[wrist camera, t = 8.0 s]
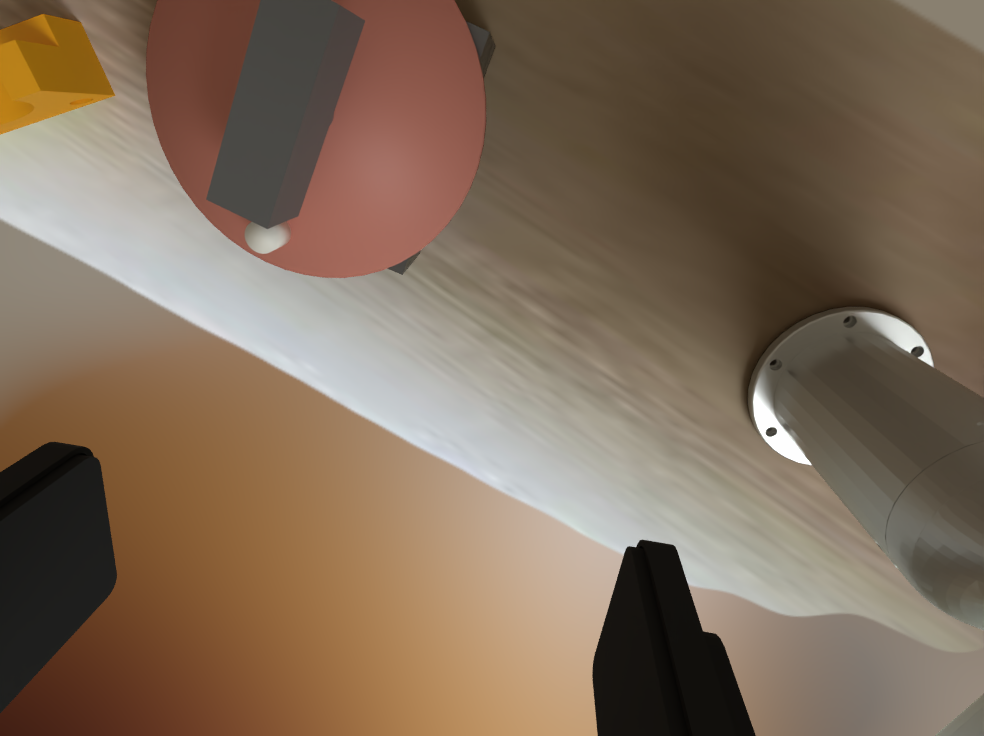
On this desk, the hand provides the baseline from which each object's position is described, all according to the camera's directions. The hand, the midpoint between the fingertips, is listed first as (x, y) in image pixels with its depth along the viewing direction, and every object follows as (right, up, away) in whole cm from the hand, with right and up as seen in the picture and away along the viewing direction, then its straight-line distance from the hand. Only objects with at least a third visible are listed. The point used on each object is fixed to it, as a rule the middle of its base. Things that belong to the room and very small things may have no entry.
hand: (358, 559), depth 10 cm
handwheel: (-7, +17, +21) cm, 28 cm away
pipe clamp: (-29, +22, +28) cm, 46 cm away
